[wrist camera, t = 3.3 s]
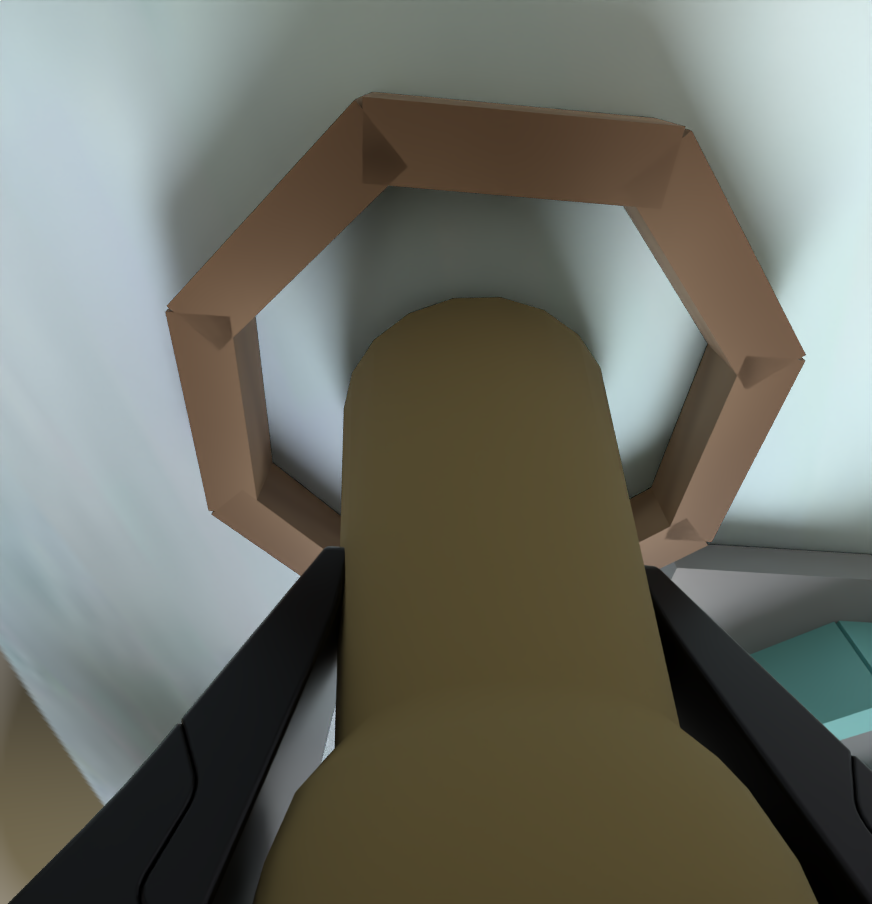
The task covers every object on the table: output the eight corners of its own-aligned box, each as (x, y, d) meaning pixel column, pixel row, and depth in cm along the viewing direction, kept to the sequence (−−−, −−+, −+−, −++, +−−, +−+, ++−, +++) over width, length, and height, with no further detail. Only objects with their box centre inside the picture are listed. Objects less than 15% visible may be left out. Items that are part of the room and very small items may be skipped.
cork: (308, 324, 11) (-192, 1318, 2) (606, 270, 11) (1482, 1375, 2) (379, 534, 15) (285, 1263, 6) (608, 503, 14) (901, 1276, 5)
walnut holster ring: (648, 592, 17) (664, 633, 16) (245, 569, 17) (230, 609, 15) (856, 136, 10) (915, 147, 9) (156, 72, 9) (113, 73, 8)
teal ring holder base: (890, 807, 26) (947, 900, 23) (552, 792, 25) (567, 885, 22) (1189, 574, 16) (1346, 682, 14) (664, 541, 16) (714, 647, 13)
